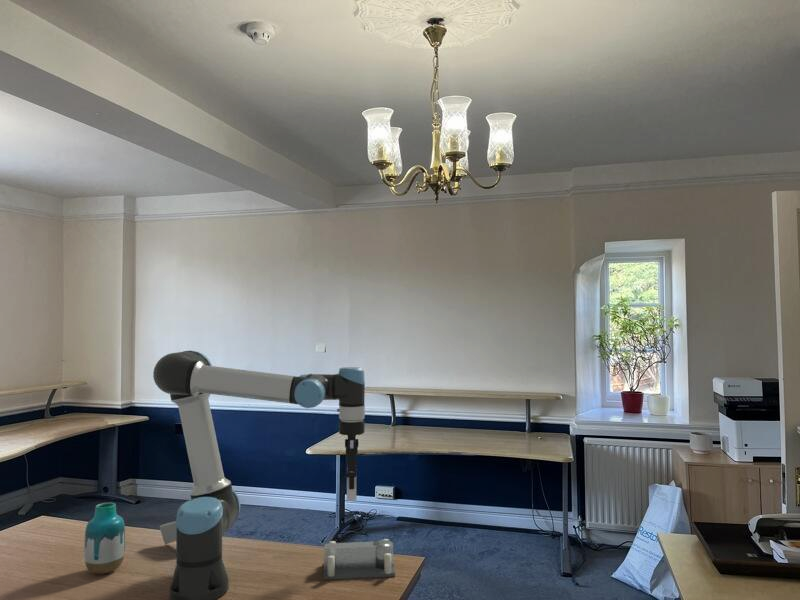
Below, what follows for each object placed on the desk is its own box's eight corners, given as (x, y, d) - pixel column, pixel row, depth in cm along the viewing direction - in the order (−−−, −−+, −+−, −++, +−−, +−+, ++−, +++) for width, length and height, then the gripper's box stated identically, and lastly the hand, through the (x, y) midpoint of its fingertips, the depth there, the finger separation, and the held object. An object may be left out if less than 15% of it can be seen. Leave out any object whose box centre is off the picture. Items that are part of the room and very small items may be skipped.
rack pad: (323, 580, 162) (323, 558, 162) (325, 561, 175) (325, 541, 175) (395, 577, 164) (395, 555, 164) (392, 558, 177) (391, 538, 177)
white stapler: (167, 556, 186) (204, 543, 182) (158, 526, 188) (194, 512, 184) (175, 552, 190) (211, 538, 186) (166, 522, 192) (202, 508, 188)
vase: (132, 566, 173) (133, 500, 174) (106, 581, 163) (106, 512, 164) (103, 562, 176) (104, 498, 177) (75, 577, 166) (76, 509, 166)
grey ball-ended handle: (324, 571, 166) (323, 550, 166) (324, 562, 172) (324, 542, 172) (393, 568, 167) (393, 547, 168) (392, 560, 173) (392, 539, 173)
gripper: (339, 413, 183) (339, 481, 182) (337, 427, 158) (337, 506, 157) (363, 413, 184) (363, 481, 183) (365, 427, 159) (365, 506, 158)
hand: (351, 493), depth 170 cm, fingers open, 13 cm apart
